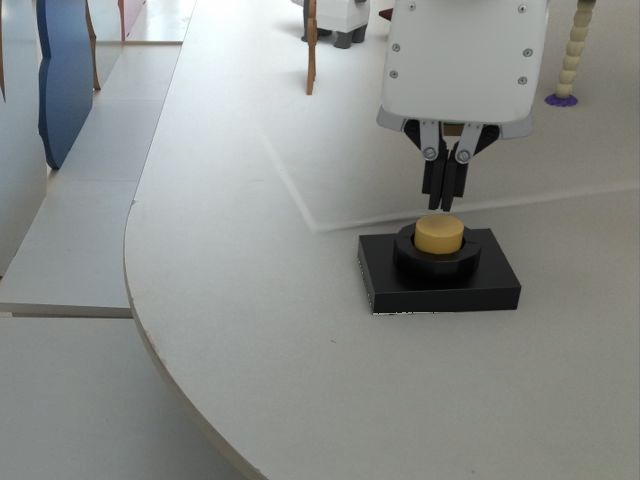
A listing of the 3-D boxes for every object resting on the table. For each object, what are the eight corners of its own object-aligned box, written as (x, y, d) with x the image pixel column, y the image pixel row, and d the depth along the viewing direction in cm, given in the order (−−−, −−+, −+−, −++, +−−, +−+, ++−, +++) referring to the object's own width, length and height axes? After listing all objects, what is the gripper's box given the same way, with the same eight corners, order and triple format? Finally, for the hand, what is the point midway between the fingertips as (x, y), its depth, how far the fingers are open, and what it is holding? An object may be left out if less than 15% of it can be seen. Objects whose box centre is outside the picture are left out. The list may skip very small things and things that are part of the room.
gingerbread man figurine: (299, 82, 104) (300, -15, 97) (329, 81, 103) (332, -17, 96) (292, 107, 97) (293, 6, 90) (324, 107, 96) (327, 4, 89)
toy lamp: (588, 107, 89) (627, -54, 79) (579, 123, 86) (619, -43, 76) (544, 102, 92) (576, -55, 81) (533, 117, 89) (565, -45, 78)
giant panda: (373, 40, 114) (378, -31, 108) (350, 51, 112) (353, -21, 106) (295, 25, 123) (296, -41, 118) (272, 35, 121) (271, -32, 115)
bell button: (455, 231, 64) (458, 212, 63) (465, 254, 61) (469, 235, 60) (410, 234, 65) (412, 215, 64) (418, 257, 62) (421, 238, 61)
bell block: (486, 250, 68) (493, 209, 66) (516, 310, 61) (526, 266, 59) (357, 256, 69) (360, 216, 67) (372, 316, 62) (376, 273, 60)
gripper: (610, -74, 49) (549, 191, 61) (370, -70, 55) (355, 172, 66) (611, -46, 44) (544, 239, 55) (345, -45, 49) (333, 214, 61)
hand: (441, 202), depth 61 cm, fingers closed
